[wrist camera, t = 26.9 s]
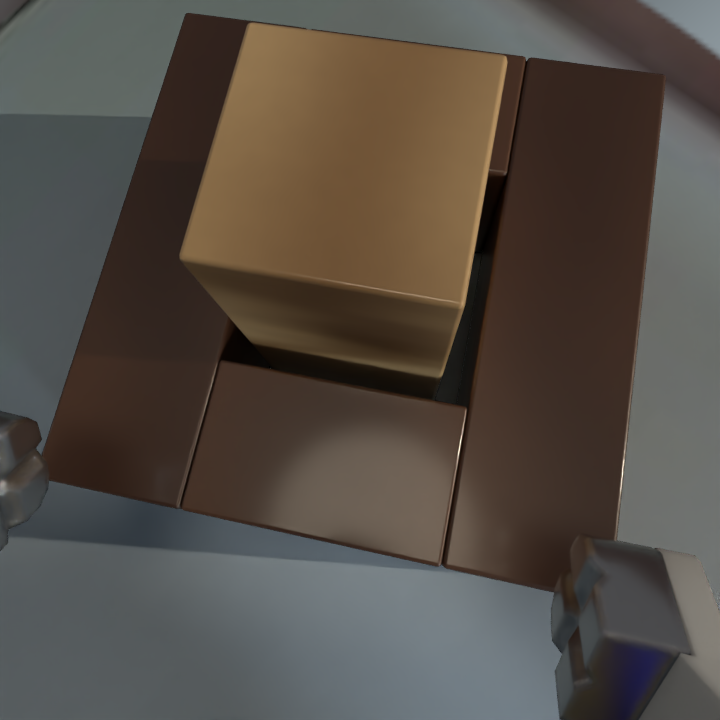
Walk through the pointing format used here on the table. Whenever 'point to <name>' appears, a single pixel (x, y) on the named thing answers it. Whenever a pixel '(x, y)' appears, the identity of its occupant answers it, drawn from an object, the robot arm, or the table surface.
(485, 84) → the peg
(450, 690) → the table surface
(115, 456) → the socket block
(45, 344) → the table surface
